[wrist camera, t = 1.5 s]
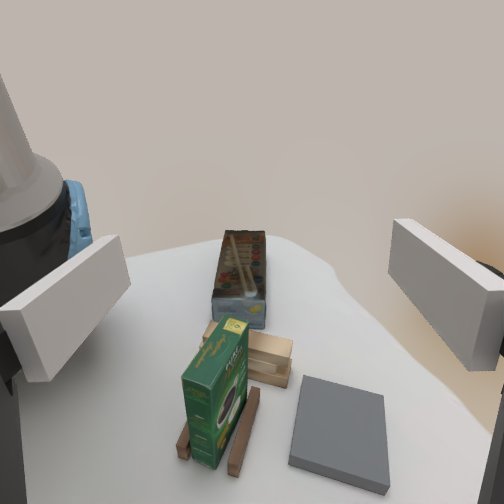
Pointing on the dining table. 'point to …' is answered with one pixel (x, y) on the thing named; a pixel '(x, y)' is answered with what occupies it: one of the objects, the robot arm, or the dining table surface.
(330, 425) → the stand pad
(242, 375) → the coffee box
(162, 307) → the dining table surface
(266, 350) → the offcut stack
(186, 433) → the walnut rack
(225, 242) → the beverage carton
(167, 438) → the dining table surface
